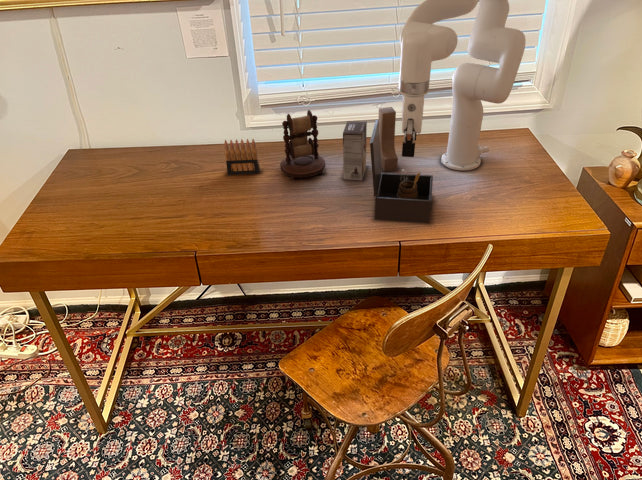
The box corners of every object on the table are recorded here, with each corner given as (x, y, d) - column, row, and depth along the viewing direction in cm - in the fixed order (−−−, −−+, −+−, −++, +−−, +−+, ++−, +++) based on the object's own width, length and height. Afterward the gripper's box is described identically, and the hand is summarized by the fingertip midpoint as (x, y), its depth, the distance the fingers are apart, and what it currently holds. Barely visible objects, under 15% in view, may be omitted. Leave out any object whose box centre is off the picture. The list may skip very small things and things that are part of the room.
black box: (430, 196, 164) (432, 175, 160) (429, 223, 154) (431, 201, 149) (379, 193, 167) (380, 172, 163) (374, 219, 156) (375, 198, 152)
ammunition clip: (227, 174, 181) (222, 141, 173) (228, 172, 182) (222, 138, 174) (259, 173, 180) (255, 139, 173) (260, 170, 182) (256, 137, 174)
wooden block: (397, 170, 178) (400, 117, 166) (384, 171, 177) (386, 119, 166) (389, 157, 185) (392, 106, 173) (376, 159, 184) (378, 107, 173)
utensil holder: (404, 198, 163) (407, 162, 155) (421, 205, 159) (425, 169, 152) (392, 206, 160) (394, 169, 152) (409, 214, 156) (412, 177, 149)
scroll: (316, 156, 188) (314, 99, 175) (331, 176, 177) (330, 117, 164) (275, 164, 184) (270, 107, 172) (288, 185, 174) (283, 126, 161)
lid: (378, 119, 152) (375, 119, 152) (373, 142, 141) (369, 142, 142) (381, 171, 162) (378, 171, 162) (376, 196, 151) (373, 196, 151)
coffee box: (347, 165, 182) (346, 120, 171) (366, 167, 180) (367, 120, 170) (342, 179, 175) (342, 132, 164) (362, 181, 173) (363, 133, 163)
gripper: (427, 99, 130) (421, 163, 141) (430, 74, 143) (424, 135, 154) (396, 97, 131) (392, 162, 142) (401, 73, 145) (397, 133, 155)
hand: (409, 148), depth 148 cm, fingers open, 9 cm apart
